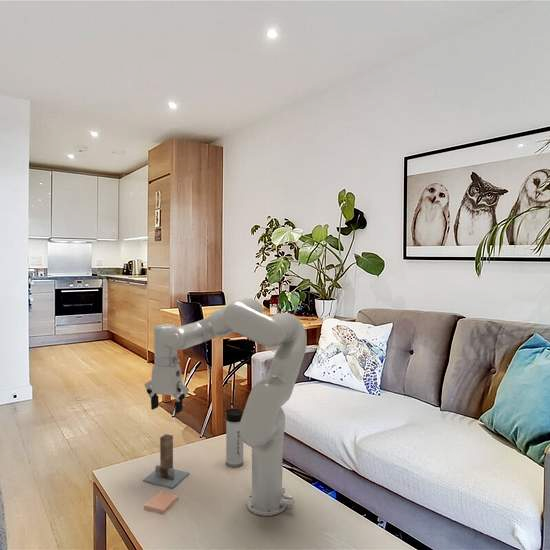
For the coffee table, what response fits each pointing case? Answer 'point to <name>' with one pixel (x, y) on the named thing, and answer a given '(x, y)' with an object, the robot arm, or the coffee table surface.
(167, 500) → the tile
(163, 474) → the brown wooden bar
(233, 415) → the travel mug
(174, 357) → the robot arm
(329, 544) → the coffee table surface
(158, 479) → the mat
